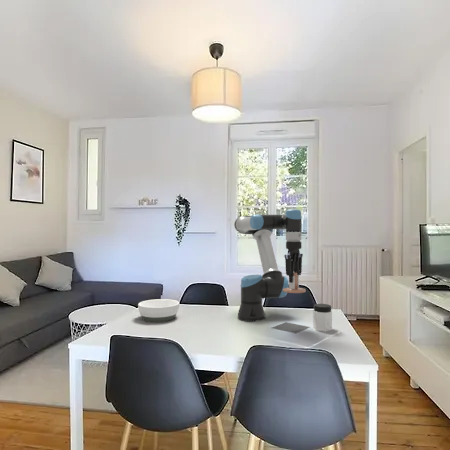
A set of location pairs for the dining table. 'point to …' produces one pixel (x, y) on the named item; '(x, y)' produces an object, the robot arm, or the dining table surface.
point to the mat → (290, 327)
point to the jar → (322, 317)
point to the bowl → (158, 310)
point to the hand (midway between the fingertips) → (294, 288)
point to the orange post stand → (295, 287)
